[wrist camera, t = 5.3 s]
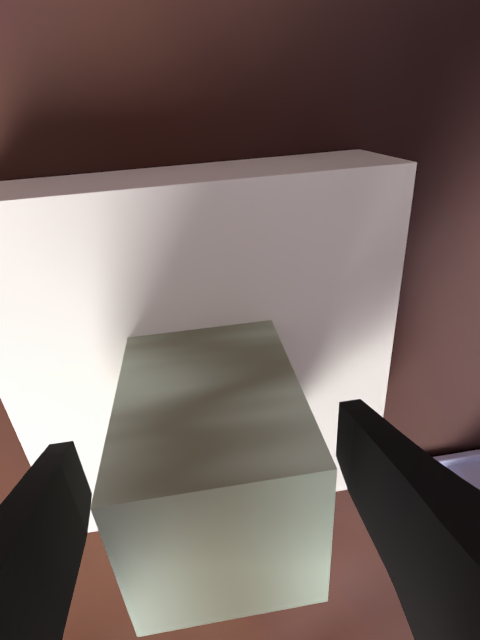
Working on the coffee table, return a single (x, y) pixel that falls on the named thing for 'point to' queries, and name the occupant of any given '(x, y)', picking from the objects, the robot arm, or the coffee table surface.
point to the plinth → (198, 280)
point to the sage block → (213, 480)
